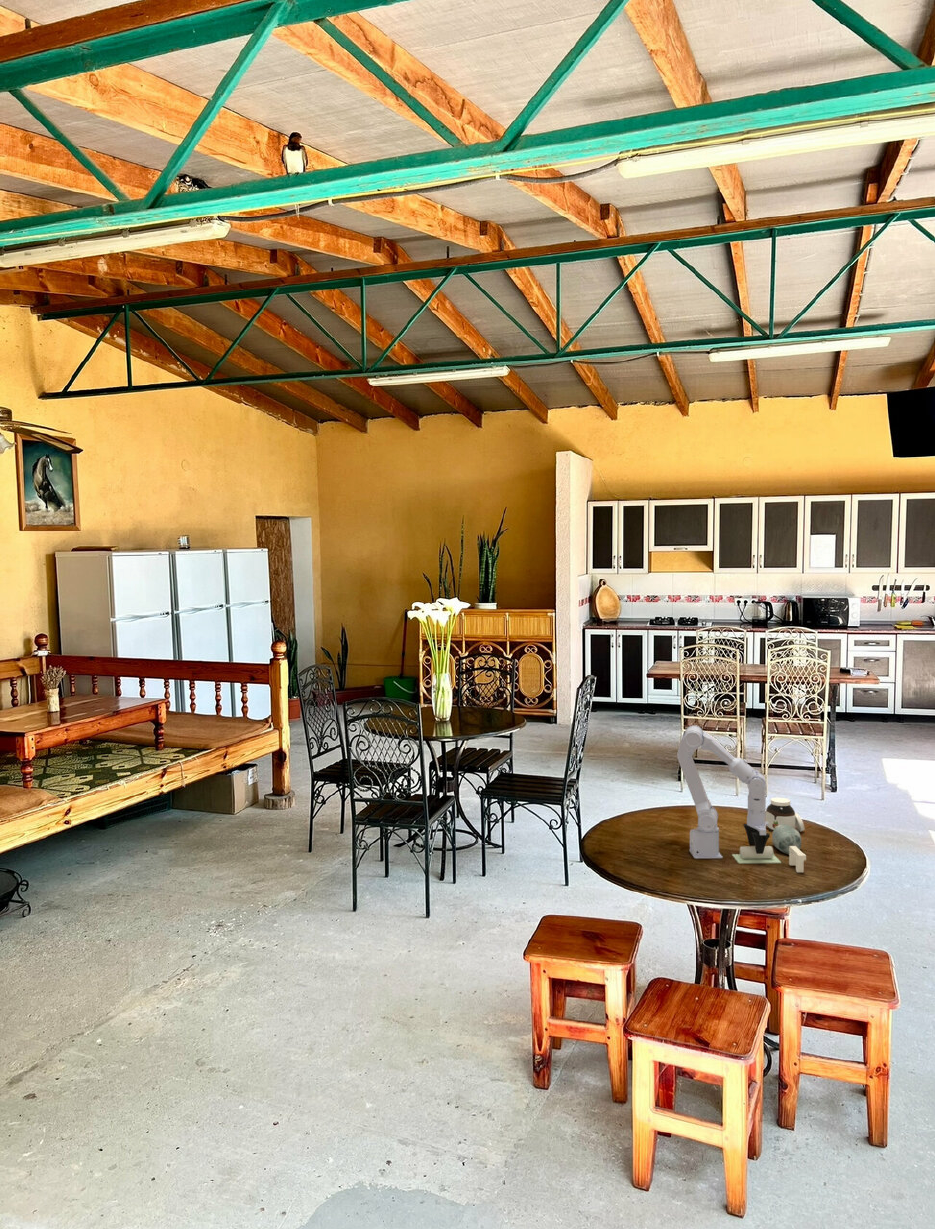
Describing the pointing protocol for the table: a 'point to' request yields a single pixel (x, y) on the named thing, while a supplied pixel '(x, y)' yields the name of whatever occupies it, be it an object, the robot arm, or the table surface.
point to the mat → (755, 860)
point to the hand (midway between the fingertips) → (756, 849)
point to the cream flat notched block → (796, 858)
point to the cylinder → (750, 853)
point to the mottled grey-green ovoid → (786, 838)
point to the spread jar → (782, 814)
